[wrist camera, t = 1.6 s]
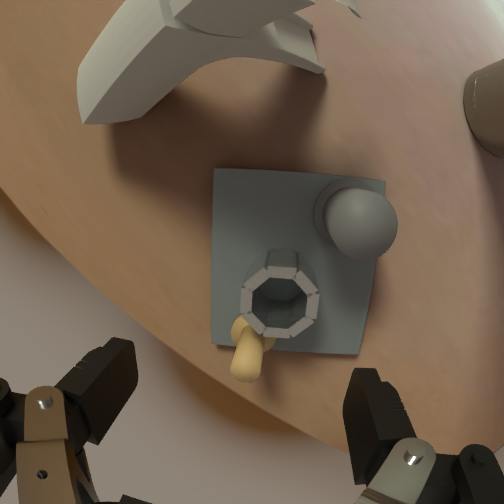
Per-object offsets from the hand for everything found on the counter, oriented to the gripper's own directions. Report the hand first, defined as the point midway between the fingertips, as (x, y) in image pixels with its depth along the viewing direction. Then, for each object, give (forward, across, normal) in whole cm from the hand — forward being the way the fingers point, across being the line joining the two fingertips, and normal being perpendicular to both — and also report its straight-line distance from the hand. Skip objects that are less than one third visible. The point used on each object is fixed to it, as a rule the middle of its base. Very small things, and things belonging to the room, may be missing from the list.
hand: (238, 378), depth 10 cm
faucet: (+18, +6, -16) cm, 25 cm away
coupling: (+16, -2, +2) cm, 16 cm away
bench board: (+17, -2, +1) cm, 17 cm away
